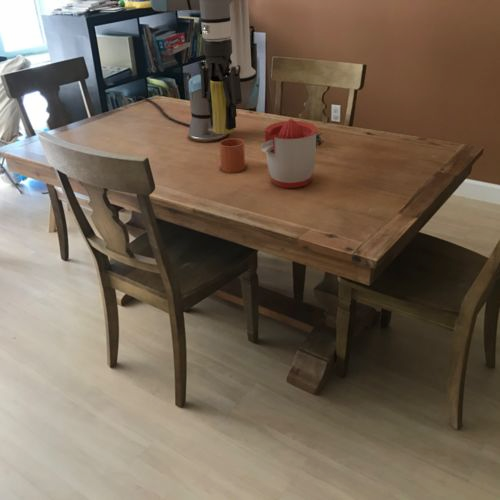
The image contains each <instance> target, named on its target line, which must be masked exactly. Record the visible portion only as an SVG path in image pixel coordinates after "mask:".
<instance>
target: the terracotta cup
mask: <svg viewBox="0 0 500 500" xmlns="http://www.w3.org/2000/svg"><path fill="white" fill-rule="evenodd" d="M245 153H246V152H245V140H243V139H242V138H237V137H233V138H232V137H231V138H224V139H221V140H220V142H219V154H220V167H221V170H222V172H225V173H229V174H231V173H233V174H234V173H240V172H243V171H244V170H245V169H246V156H245Z"/></svg>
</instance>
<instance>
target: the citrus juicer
mask: <svg viewBox="0 0 500 500" xmlns="http://www.w3.org/2000/svg"><path fill="white" fill-rule="evenodd" d="M316 132H317V133H318V128H317V126H316V125H314V124H313V123H310V122H306V121H301V120H294V119H292V118H290V119H288V120H285V121H279V122H275V123H272V124H269V125H268V126H266V127H265V129H264V142H263V143H262V144H261V146H260V150H261V152H262V153H264V154H266V164H267V169H268V173H269V176H270V178H271V181H272V183H273V184H274V185H276V186H277V187H280V188H284V189H294V188H295V189H296V188H301V187H304V186H306V185H308V184H309V183H310V181H311V179H312V176H313V173H314V169H315V165H316V157H317V143H316Z"/></svg>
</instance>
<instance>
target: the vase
mask: <svg viewBox="0 0 500 500" xmlns="http://www.w3.org/2000/svg"><path fill="white" fill-rule="evenodd" d="M210 88H211V99H212V110H213V132H214V133H216V134H228V135H229V134H231V133H233V132H234V131H235V128H234V129H231V130H227V117H226V105H228V103H227V99H226V96H225V92H224V88H223V81H220V79H219V78H218V82H214V81H211V80H210Z"/></svg>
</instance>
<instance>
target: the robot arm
mask: <svg viewBox="0 0 500 500" xmlns="http://www.w3.org/2000/svg"><path fill="white" fill-rule="evenodd" d="M149 3H150V6H151V8H152V10H154V11H155V12H164V13H166V12H179V11H200V23H201V32H202V33H201V35H202V39H204V40H203V41H202V48H203V49H202V50H203V55H204V56H205V60H200V61H199V62H198V67H199V72H200V74H197V75H193V76H192V77H191V78H189V80H188V95H189V105H190V114H191V115H190V116H191V119H190V124H189V123H186V122H183V121H179V120H178V119H174V118H172V117H171V116H169V115H168V114H167V113H166V112H164V111H163V109H162V108H161V107H160V106H159V105H158V104H157V103H156V102H155V101H153V100H151V99H149V98H147V97H144V96H141V95H139V96H138V97H136V100H140V99H143V100H144V101H147V102H149V103H151V104H153V105H154V106H155V107H156V108H157V109H158V110H159V112H160V113H161V114H162V115H163V116H164V117H165V118H167V119H169V120H171V121H172V122H174V123H177V124H180V125H183V126H187V127H189V129H188V138H189V139H190V140H191V141H194V142H197V143H213V142H217V141H218V142H219V141H222V140H224V139H226V138H227V137H228V135H229V134H216V133H214V132H213V110H212V99H211V88H210V80H211V81H214V82H218V78H219V79H220V81H223V88H224V92H225V96H226V99H227V103H228V105H226V117H227V130H231V129H234V130H235V129H236V128H237V121H236V118H237V115H238V114H237V110H247V109H248V110H249V109H255V108H256V107H257V106H258V103H259V93H260V83H261V82H260V81H261V77H260V76H259V75H258V74H257V70H256V69H254V68H253V67H252V53H251V51H252V50H251V32H250V31H251V29H250V10H249V0H149Z"/></svg>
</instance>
